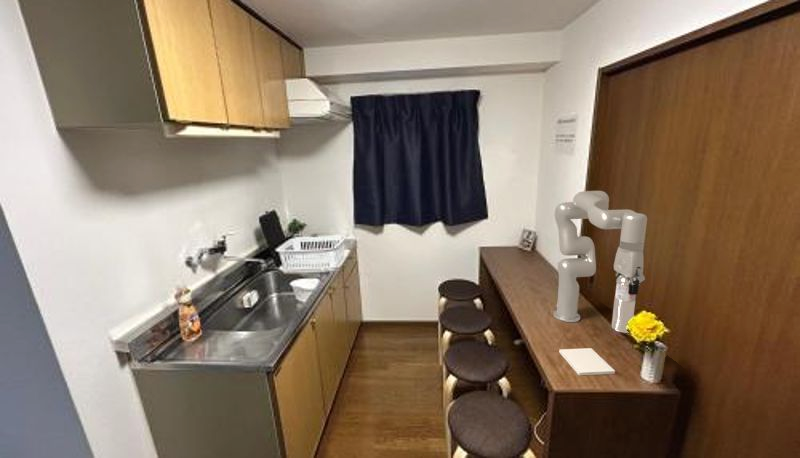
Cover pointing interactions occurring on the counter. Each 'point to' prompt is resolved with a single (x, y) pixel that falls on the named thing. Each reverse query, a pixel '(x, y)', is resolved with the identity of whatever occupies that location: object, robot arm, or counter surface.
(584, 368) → the board
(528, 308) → the counter surface
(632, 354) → the counter surface
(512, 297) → the counter surface
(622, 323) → the water bottle
